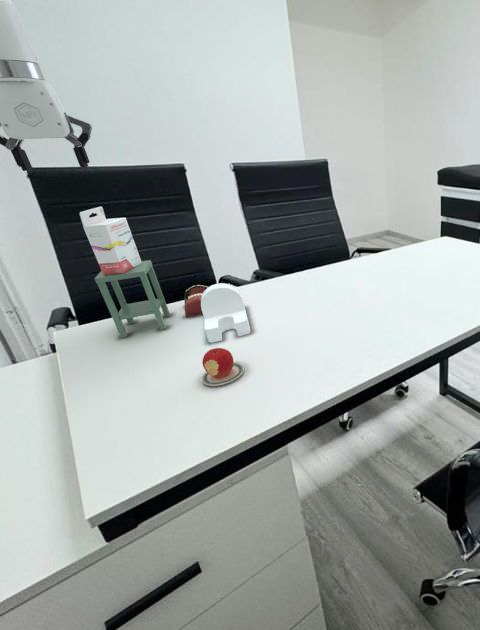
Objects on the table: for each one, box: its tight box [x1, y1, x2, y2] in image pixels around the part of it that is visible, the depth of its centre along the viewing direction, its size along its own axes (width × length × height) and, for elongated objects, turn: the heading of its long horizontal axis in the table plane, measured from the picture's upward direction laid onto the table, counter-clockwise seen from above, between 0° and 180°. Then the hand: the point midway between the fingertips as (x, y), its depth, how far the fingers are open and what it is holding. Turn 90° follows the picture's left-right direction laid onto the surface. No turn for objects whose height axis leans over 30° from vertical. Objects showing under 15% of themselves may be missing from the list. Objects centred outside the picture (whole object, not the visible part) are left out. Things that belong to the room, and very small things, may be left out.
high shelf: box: [94, 259, 171, 339], centre depth 99 cm, size 10×10×16 cm
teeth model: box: [183, 284, 209, 318], centre depth 110 cm, size 8×6×12 cm
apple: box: [201, 347, 245, 387], centre depth 78 cm, size 8×8×6 cm
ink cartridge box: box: [79, 206, 142, 275], centre depth 92 cm, size 9×5×15 cm, turn 7°
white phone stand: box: [201, 282, 252, 344], centre depth 99 cm, size 10×18×11 cm, turn 27°
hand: (57, 168), depth 82 cm, fingers open, 9 cm apart
